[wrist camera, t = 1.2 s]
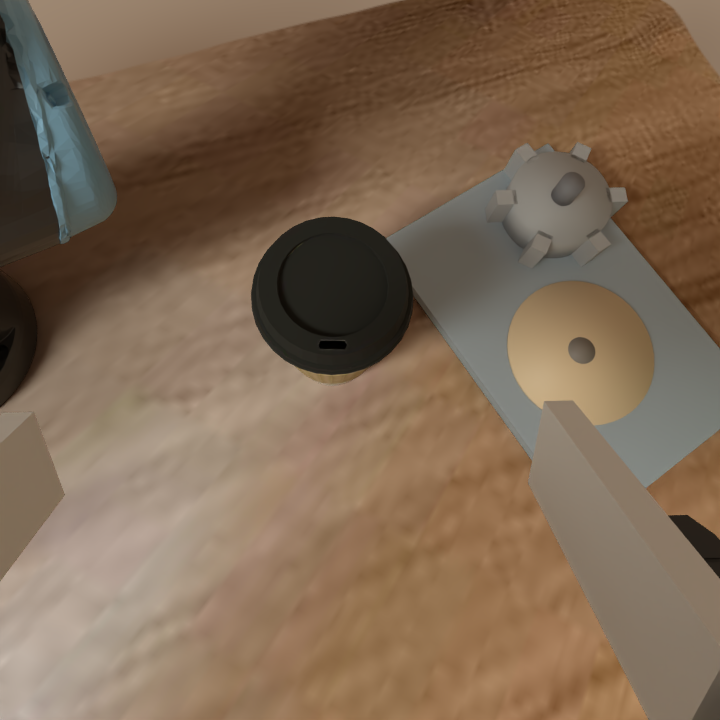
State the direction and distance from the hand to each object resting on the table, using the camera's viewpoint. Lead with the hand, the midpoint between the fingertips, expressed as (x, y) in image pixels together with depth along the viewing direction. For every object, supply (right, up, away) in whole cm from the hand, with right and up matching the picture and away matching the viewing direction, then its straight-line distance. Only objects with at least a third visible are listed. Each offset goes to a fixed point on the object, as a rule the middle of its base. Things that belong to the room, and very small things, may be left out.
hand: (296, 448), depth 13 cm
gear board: (+20, +6, +31) cm, 37 cm away
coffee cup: (-1, +3, +29) cm, 29 cm away
